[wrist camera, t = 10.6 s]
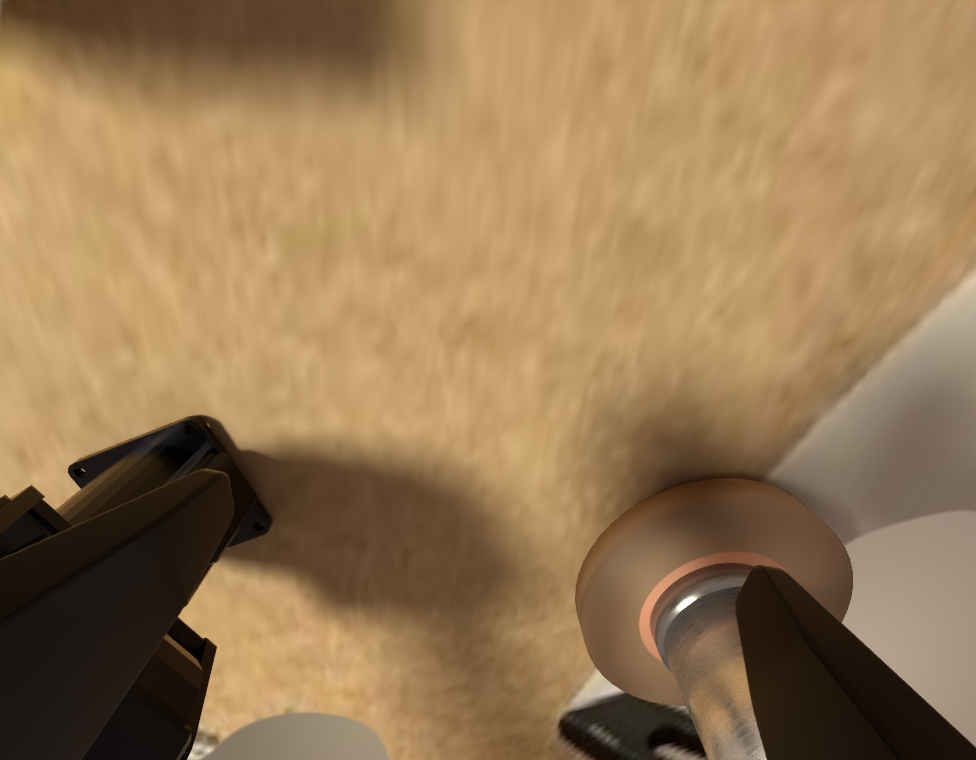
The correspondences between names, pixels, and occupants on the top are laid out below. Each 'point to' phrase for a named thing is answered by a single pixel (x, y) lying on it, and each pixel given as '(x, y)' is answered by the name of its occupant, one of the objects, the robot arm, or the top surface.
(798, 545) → the turntable
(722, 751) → the canister
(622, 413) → the top surface
